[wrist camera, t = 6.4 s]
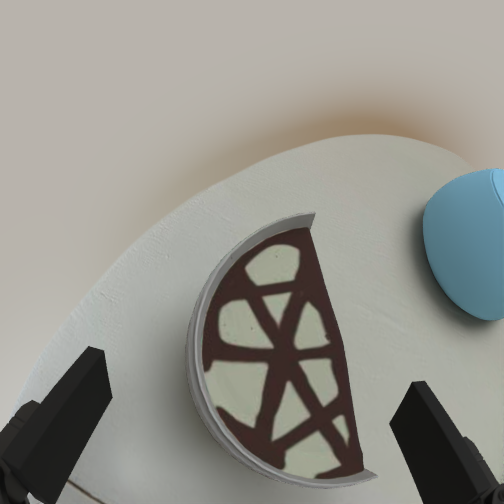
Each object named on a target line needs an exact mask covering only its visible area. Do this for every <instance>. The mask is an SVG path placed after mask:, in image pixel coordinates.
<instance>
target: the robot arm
mask: <svg viewBox="0 0 504 504" xmlns="http://www.w3.org/2000/svg"><path fill="white" fill-rule="evenodd" d="M112 398H113V397H112V393H111V388H110V383H109V377H108V372H107V366H106V360H105V353H104V350H100V349H97V348H94V347H90V346H88V347H87V349H86V350H85V351H84V352H83V353H82V354H81V355H80V357H79V358H78V359H77V360H76V361H75V362H74V364H73V365H72V366H71V367H70V368H69V369H68V371H67V372H66V373H65V374H64V375H63V377H62V378H61V379H60V380H59V381H58V383H57V384H56V385H55V386H54V387H53V389H52V390H51V391H50V392H49V394H48V395H47V396H46V397H45V399H44V400H43V401H42V402H41V404H39V403H37V402H35V401H33V400H31V401H30V402H28V403H26V404H24V405H23V406H21V407H20V409H19V410H18V411H17V412H16V414H15V416H14V417H12V418H11V420H10V421H9V424H8V423H7V425H6V426H5V427H4V428H3V430H2V431H1V432H0V504H30V503H29V500H28V498H27V495H28V493H29V492H30V493H31V494H32V495H33V496H34V498H35V499H37V500H39V501H40V502H42V503H44V504H56V502H57V500H58V498H59V496H60V494H61V492H62V490H63V488H64V486H65V484H66V482H67V480H68V478H69V476H70V474H71V472H72V470H73V468H74V466H75V464H76V463H77V461H78V459H79V457H80V455H81V453H82V451H83V449H84V448H85V446H86V444H87V442H88V440H89V438H90V437H91V435H92V433H93V431H94V429H95V428H96V426H97V424H98V422H99V420H100V419H101V417H102V415H103V413H104V412H105V410H106V408H107V406H108V405H109V403H110V401H111V399H112ZM389 424H390V427H391V429H392V431H393V433H394V435H395V438H396V440H397V442H398V444H399V447H400V449H401V451H402V453H403V456H404V458H405V460H406V463H407V465H408V467H409V470H410V472H411V474H412V477H413V479H414V482H415V484H416V487H417V489H418V491H419V494H420V496H421V499H422V501H423V504H504V484H499V483H498V482H497V480H496V479H495V477H494V475H493V473H492V472H491V470H490V468H489V467H488V465H487V463H486V462H485V460H483V457H482V455H481V454H480V453H479V450H478V449H477V447H476V446H475V444H474V443H473V442H472V441H471V440H469V439H468V438H467V437H462V435H461V434H460V432H459V431H458V429H457V428H456V426H455V425H454V423H453V422H452V420H451V418H450V417H449V415H448V414H447V412H446V411H445V409H444V408H443V406H442V405H441V404H440V402H439V401H438V399H437V398H436V396H435V395H434V393H433V392H432V390H431V389H430V388H429V386H428V385H427V383H426V382H425V381H417V382H412V383H411V385H410V387H409V389H408V391H407V393H406V395H405V397H404V398H403V400H402V402H401V404H400V406H399V407H398V409H397V411H396V413H395V415H394V416H393V418H392V420H391V421H390V423H389Z"/></svg>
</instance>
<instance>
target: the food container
mask: <svg viewBox="0 0 504 504" xmlns="http://www.w3.org/2000/svg"><path fill="white" fill-rule="evenodd" d="M315 214H316V213H315V212H309V213H301V214H296V215H292V216H289V217H285V218H282V219H279V220H277V221H274V222H272V223H270V224H268V225H266V226H263V227H261V228H260V229H258V230H257V231H255V232H254V233H252V234H251V235H249V236H248V237H246V238H245V239H244V240H243V241H241V242H240V243H238V244H237V245H236V246H235V247H234V248H233V249H232V250H231V251H230V252H229V253H228V254H226V255H225V256H224V257H223V259H222V260H221V261H220V262H219V264H218V265H217V266H216V268H215V269H214V270H213V271H212V273H211V274H210V276H209V278H208V280H207V281H206V283H205V285H204V287H203V289H202V291H201V292H200V295H199V297H198V300H197V302H196V305H195V308H194V311H193V314H192V317H191V320H190V323H189V327H188V333H187V340H186V346H185V355H186V374H187V379H188V384H189V388H190V393H191V396H192V399H193V401H194V404H195V406H196V409H197V411H198V413H199V416H200V417H201V419H202V421H203V422H204V424H205V425H206V427H207V429H208V430H209V432H210V433H211V435H212V436H213V437H214V438H215V440H216V441H217V442H218V443H219V444H220V445H221V446H222V447H223V448H224V449H225V450H226V451H227V452H228V453H229V454H230V455H231V456H232V457H234V458H235V459H236V460H238V461H239V462H241V463H242V464H243V465H245V466H246V467H248V468H249V469H251V470H253V471H255V472H257V473H259V474H262V475H264V476H266V477H268V478H270V479H274V480H277V481H281V482H284V483H288V484H292V485H296V486H300V487H308V488H323V489H328V488H337V487H346V486H351V485H355V484H358V483H362V482H365V481H368V480H371V479H374V478H377V477H378V475H376V474H374V473H372V472H370V471H369V470H367V469H365V468H364V465H363V453H362V450H361V448H360V443H359V439H358V433H357V427H356V421H355V415H354V409H353V403H352V396H351V390H350V383H349V376H348V368H347V362H346V357H345V351H344V345H343V341H342V337H341V334H340V330H339V327H338V324H337V320H336V317H335V314H334V311H333V308H332V305H331V302H330V299H329V295H328V292H327V289H326V286H325V283H324V279H323V275H322V272H321V268H320V264H319V261H318V257H317V254H316V251H315V247H314V244H313V240H312V237H311V233H310V229H311V226H312V223H313V220H314V217H315Z"/></svg>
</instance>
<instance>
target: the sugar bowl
mask: <svg viewBox="0 0 504 504" xmlns="http://www.w3.org/2000/svg"><path fill="white" fill-rule="evenodd" d="M423 236H424V244H425V249H426V254H427V258H428V261H429V264H430V267H431V269H432V272H433V274H434V276H435V278H436V280H437V282H438V283H439V285H440V287H441V288H442V289H443V291H444V292H445V294H446V295H447V296H448V297H449V298H450V299H451V300H452V301H453V302H454V303H455V304H456V305H457V306H459V307H460V308H461V309H463V310H464V311H466V312H468V313H469V314H471V315H473V316H475V317H477V318H480V319H483V320H499V319H502V318H504V170H502V169H497V168H496V169H486V170H481V171H477V172H472V173H469V174H466V175H463V176H460V177H458V178H456V179H454V180H452V181H450V182H449V183H447V184H446V185H445V186H443V187H442V188H441V189H439V190H438V191H437V192H436V193H435V194H434V195H433V197H432V198H431V199H430V200H429V201H428V203H427V205H426V209H425V212H424V216H423Z"/></svg>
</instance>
